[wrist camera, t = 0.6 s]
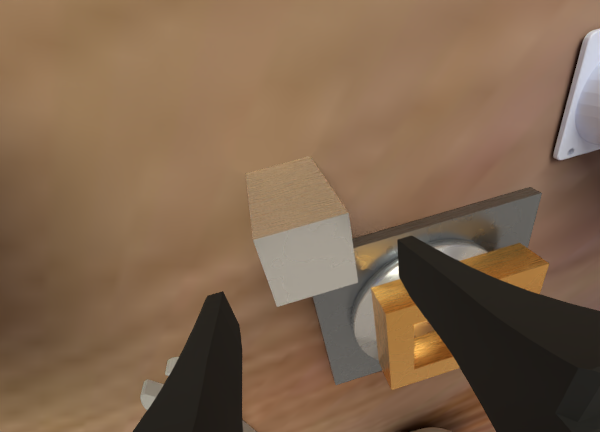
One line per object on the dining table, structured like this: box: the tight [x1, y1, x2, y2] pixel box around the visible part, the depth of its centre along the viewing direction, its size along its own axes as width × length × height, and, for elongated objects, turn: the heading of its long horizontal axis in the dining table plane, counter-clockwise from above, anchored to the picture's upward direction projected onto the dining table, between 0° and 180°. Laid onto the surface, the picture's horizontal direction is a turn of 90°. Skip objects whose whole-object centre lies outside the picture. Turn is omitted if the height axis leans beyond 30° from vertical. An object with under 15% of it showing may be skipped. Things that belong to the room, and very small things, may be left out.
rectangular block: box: [245, 156, 358, 307], centre depth 16 cm, size 4×4×7 cm
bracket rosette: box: [312, 187, 549, 390], centre depth 25 cm, size 18×16×4 cm
